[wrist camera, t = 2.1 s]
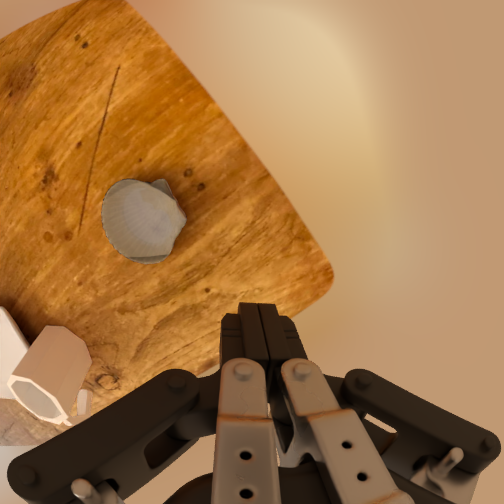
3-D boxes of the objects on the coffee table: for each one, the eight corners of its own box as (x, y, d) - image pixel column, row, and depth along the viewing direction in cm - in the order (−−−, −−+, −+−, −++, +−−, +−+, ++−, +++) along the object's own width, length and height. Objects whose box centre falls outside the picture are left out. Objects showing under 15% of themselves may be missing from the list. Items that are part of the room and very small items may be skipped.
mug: (30, 332, 29) (-3, 377, 19) (66, 316, 28) (30, 369, 19) (80, 392, 33) (60, 441, 24) (120, 384, 33) (103, 441, 24)
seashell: (106, 198, 26) (133, 271, 27) (88, 199, 23) (116, 280, 24) (173, 162, 24) (204, 244, 25) (158, 158, 21) (192, 251, 22)
